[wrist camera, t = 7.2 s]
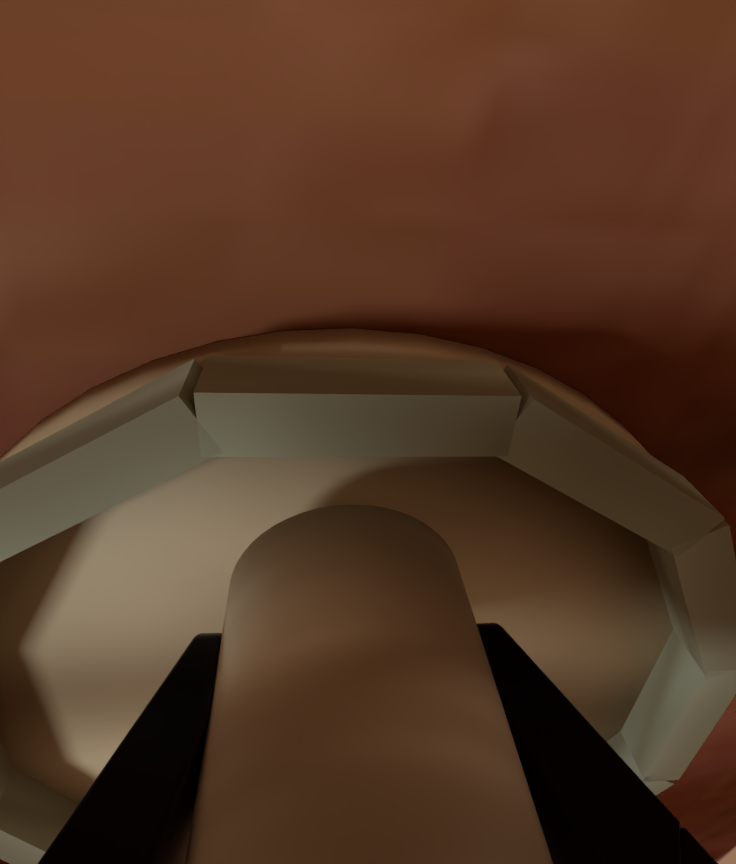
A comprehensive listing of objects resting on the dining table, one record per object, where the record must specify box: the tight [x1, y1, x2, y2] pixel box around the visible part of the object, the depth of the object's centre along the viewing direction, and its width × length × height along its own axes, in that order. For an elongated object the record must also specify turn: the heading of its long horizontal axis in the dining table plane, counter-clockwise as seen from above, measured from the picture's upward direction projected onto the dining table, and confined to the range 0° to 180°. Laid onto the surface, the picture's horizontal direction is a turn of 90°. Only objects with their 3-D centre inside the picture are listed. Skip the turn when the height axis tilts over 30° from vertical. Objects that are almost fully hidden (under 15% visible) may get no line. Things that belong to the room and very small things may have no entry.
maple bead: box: [185, 504, 553, 864], centre depth 7 cm, size 4×4×5 cm
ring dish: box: [0, 328, 736, 864], centre depth 13 cm, size 17×17×2 cm
